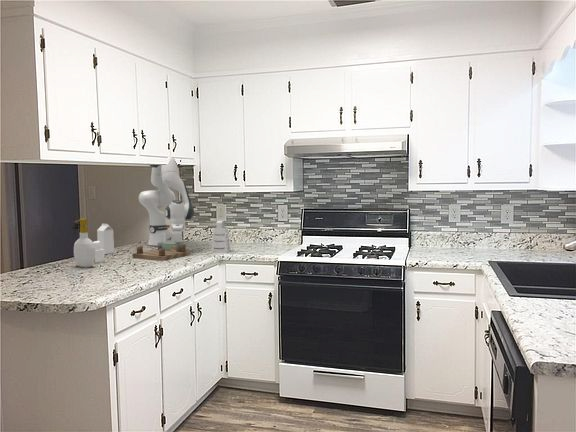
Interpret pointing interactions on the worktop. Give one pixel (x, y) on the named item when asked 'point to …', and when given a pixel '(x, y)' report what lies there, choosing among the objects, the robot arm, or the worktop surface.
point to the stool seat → (161, 253)
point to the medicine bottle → (98, 252)
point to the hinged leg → (168, 245)
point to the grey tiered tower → (220, 238)
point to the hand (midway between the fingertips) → (178, 247)
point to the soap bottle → (84, 247)
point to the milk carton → (106, 238)
